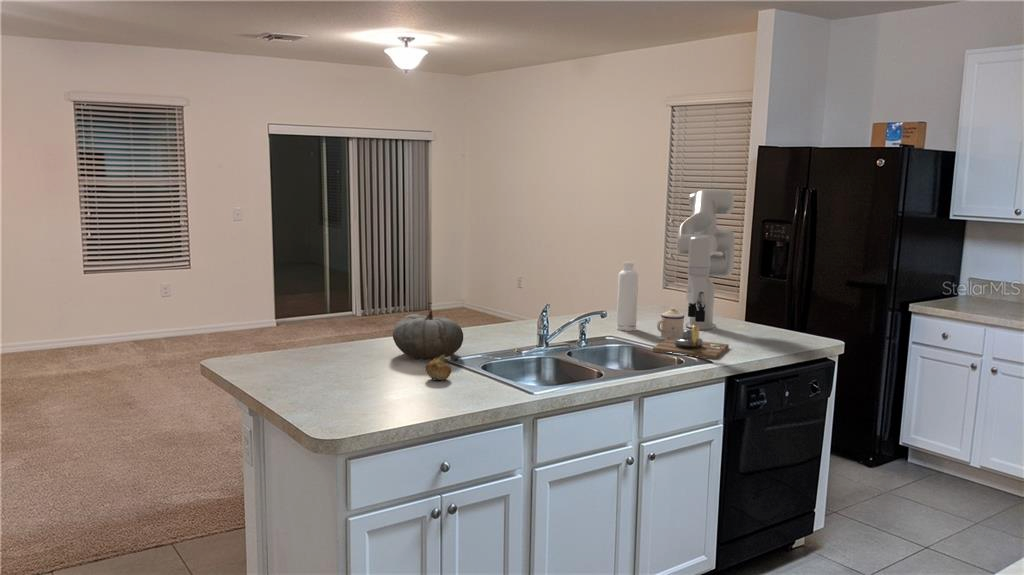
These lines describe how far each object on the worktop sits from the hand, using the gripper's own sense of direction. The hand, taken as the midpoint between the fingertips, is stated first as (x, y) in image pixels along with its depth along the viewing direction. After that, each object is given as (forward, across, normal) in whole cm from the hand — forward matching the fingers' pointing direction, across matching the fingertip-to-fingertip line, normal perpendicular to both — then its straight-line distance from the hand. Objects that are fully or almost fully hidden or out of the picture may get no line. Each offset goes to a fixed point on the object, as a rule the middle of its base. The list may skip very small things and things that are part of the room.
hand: (696, 319), depth 282 cm
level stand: (+13, -10, +1) cm, 17 cm away
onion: (+15, +32, -90) cm, 96 cm away
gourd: (+14, +1, -95) cm, 96 cm away
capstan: (+11, -7, 0) cm, 13 cm away
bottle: (+13, -47, -16) cm, 51 cm away
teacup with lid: (+13, -31, -2) cm, 34 cm away
